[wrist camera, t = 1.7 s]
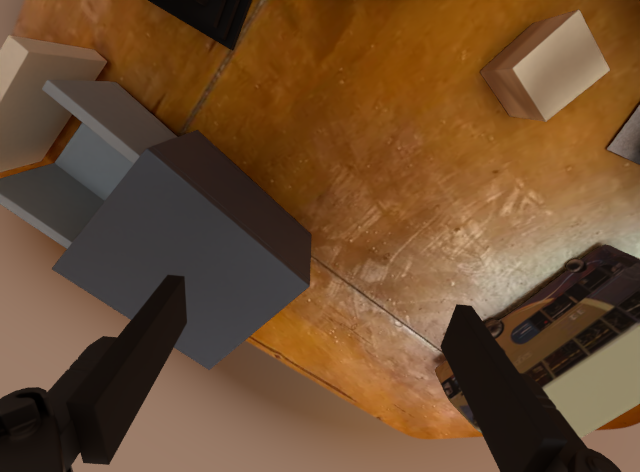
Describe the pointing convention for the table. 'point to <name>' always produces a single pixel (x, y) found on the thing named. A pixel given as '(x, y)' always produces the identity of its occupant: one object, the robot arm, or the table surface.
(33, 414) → the robot arm
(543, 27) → the block
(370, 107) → the table surface
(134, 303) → the cabinet
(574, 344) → the toy bus
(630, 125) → the shoulder bag
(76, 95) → the drawer
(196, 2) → the chess piece
